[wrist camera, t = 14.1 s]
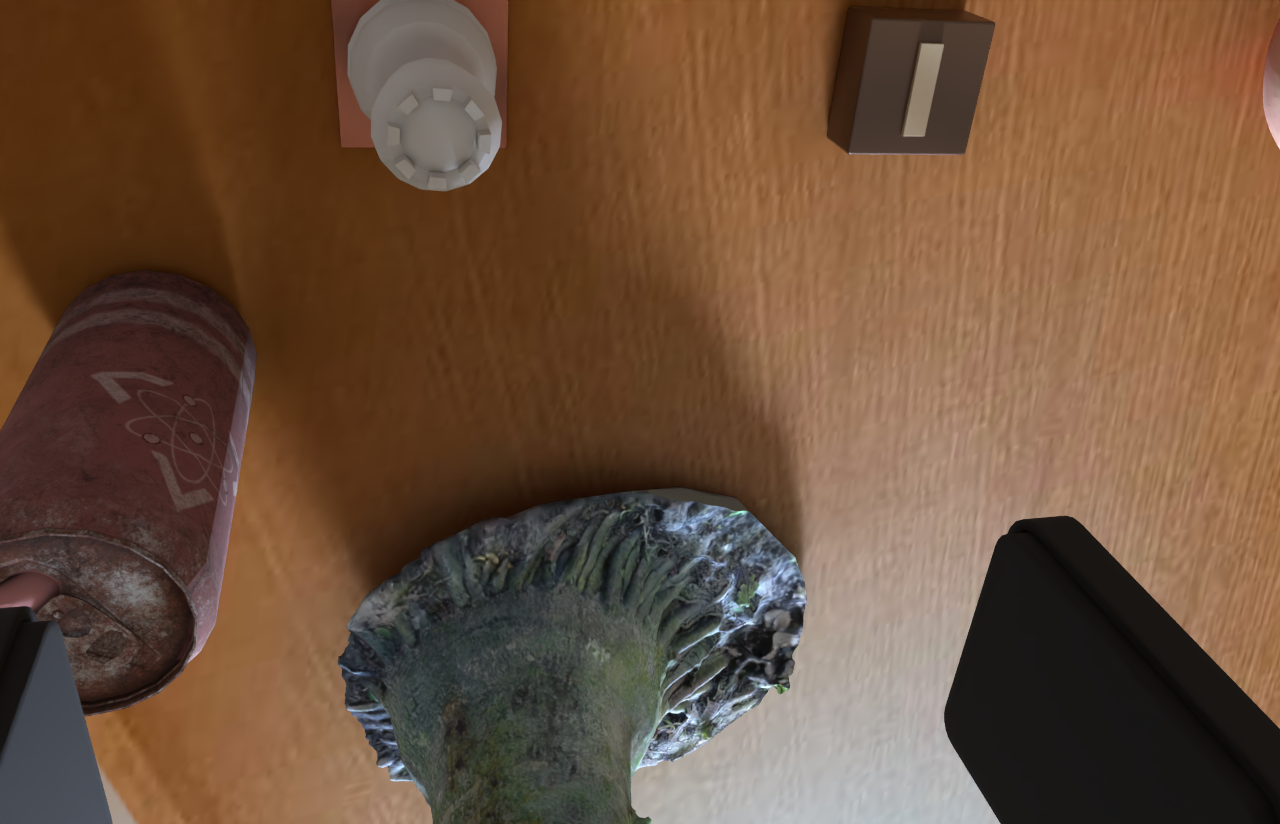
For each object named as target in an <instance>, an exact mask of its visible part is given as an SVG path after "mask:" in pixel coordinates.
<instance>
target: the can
mask: <svg viewBox="0 0 1280 824" xmlns="http://www.w3.org/2000/svg"><path fill="white" fill-rule="evenodd" d="M256 357H257V353H256V349H255V346H254V343H253V339H252V336H251V333H250V329H249V327H248V326H247V325H246V323H245V322H244V321H243V319H242V318H241V316H240V315H239V314H238V312H237V311H236V309H235V308H234V307H233V305H231V304H230V303H229V302H228V301H226V300H225V299H224V298H222V297H221V296H220V295H218V294H217V293H216V292H214V291H213V290H212V289H210V288H209V287H208V286H205V285H203V284H200V283H198V282H195V281H193V280H190V279H188V278H185V277H183V276H180V275H178V274H171V273H162V272H154V271H146V270H143V271H137V272H130V273H123V274H117V275H112V276H110V277H108V278H106V279H104V280H101V281H99V282H97V283H95V284H93V285H91V286H89V287H87V288H85V289H84V290H83V291H82V292H81V293H80V294H79V295H78V296H77V297H76V298H75V299H74V300H73V301H72V302H71V303H70V304H69V306H68V307H67V308H66V309H65V311H64V313H63V314H62V316H61V318H60V320H59V322H58V324H57V326H56V328H55V329H54V331H53V333H52V335H51V337H50V339H49V341H48V343H47V345H46V346H45V348H44V350H43V352H42V354H41V356H40V358H39V360H38V361H37V363H36V365H35V367H34V369H33V371H32V373H31V375H30V376H29V378H28V380H27V382H26V384H25V386H24V388H23V390H22V391H21V393H20V395H19V397H18V399H17V401H16V403H15V405H14V407H13V408H12V410H11V412H10V414H9V416H8V418H7V420H6V422H5V423H4V425H3V427H2V429H1V431H0V608H7V607H19V606H28V607H31V609H32V610H33V611H34V612H35V615H36V617H37V620H38V621H48V620H54V621H56V622H57V623H58V624H59V627H60V629H61V632H62V636H63V639H64V643H65V647H66V651H67V654H68V658H69V662H70V665H71V669H72V673H73V677H74V680H75V684H76V688H77V691H78V695H79V699H80V703H81V706H82V710H83V714H84V716H92V715H97V714H101V713H106V712H111V711H116V710H120V709H125V708H128V707H130V706H133V705H135V704H137V703H139V702H141V701H143V700H145V699H147V698H149V697H152V696H154V695H156V694H158V693H160V692H161V691H162V690H163V689H164V688H165V687H166V686H167V685H168V684H170V683H171V682H172V681H173V680H174V679H175V678H176V677H177V676H179V675H180V674H181V673H182V672H183V670H184V668H185V666H186V664H187V663H188V662H189V661H191V660H192V659H193V658H194V657H195V656H196V655H197V654H198V653H199V652H201V650H202V648H203V646H204V644H205V642H206V641H207V639H208V637H209V635H210V633H211V631H212V629H213V627H214V625H215V624H216V618H217V611H218V605H219V599H220V593H221V586H222V580H223V574H224V568H225V562H226V555H227V549H228V543H229V537H230V530H231V524H232V518H233V512H234V505H235V499H236V493H237V487H238V480H239V474H240V468H241V462H242V455H243V449H244V443H245V437H246V430H247V424H248V418H249V412H250V405H251V399H252V393H253V387H254V380H255V370H256Z"/></svg>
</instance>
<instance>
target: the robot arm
mask: <svg viewBox="0 0 1280 824" xmlns="http://www.w3.org/2000/svg"><path fill="white" fill-rule="evenodd" d="M944 722H945V728H946V732H947V735H948V738H949V740H950V742H951V744H952V745H953V747H954V749H955V750H956V752H957V754H958V755H959V757H960V758H961V760H962V762H963V763H964V765H965V767H966V768H967V770H968V771H969V773H970V775H971V776H972V778H973V780H974V781H975V783H976V784H977V786H978V788H979V789H980V791H981V792H982V794H983V796H984V797H985V799H986V801H987V802H988V804H989V805H990V807H991V809H992V810H993V812H994V814H995V815H996V817H997V818H998V820H999V822H1000V823H1001V824H1280V729H1279V728H1278V727H1277V726H1276V725H1275V724H1274V723H1273V722H1272V720H1271V719H1270V718H1269V717H1268V716H1267V715H1266V714H1265V713H1264V712H1263V711H1262V710H1261V709H1260V708H1259V707H1258V706H1257V705H1256V704H1255V703H1254V702H1253V701H1252V700H1251V699H1250V698H1249V697H1248V696H1247V695H1246V694H1245V693H1244V692H1243V691H1242V689H1241V688H1240V687H1239V686H1238V685H1237V684H1236V683H1235V682H1234V681H1233V680H1232V679H1231V678H1230V677H1229V676H1228V675H1227V674H1226V673H1225V672H1224V671H1223V670H1222V669H1221V668H1220V667H1219V666H1218V665H1217V664H1216V663H1215V662H1214V661H1213V660H1212V658H1211V657H1210V656H1209V655H1208V654H1207V653H1206V652H1205V651H1204V650H1203V649H1202V648H1201V647H1200V646H1199V645H1198V644H1197V643H1196V642H1195V641H1194V640H1193V639H1192V638H1191V637H1190V636H1189V635H1188V634H1187V633H1186V632H1185V631H1184V630H1183V629H1182V627H1181V626H1180V625H1179V624H1178V623H1177V622H1176V621H1175V620H1174V619H1173V618H1172V617H1171V616H1170V615H1169V614H1168V613H1167V612H1166V611H1165V610H1164V609H1163V608H1162V607H1161V606H1160V605H1159V604H1158V603H1157V602H1156V601H1155V600H1154V599H1153V598H1152V596H1151V595H1150V594H1149V593H1148V592H1147V591H1146V590H1145V589H1144V588H1143V587H1142V586H1141V585H1140V584H1139V583H1138V582H1137V581H1136V580H1135V579H1134V578H1133V577H1132V576H1131V575H1130V574H1129V573H1128V572H1127V571H1126V570H1125V569H1124V568H1123V567H1122V566H1121V564H1120V563H1119V562H1118V561H1117V560H1116V559H1115V558H1114V557H1113V556H1112V555H1111V554H1110V553H1109V552H1108V551H1107V550H1106V549H1105V548H1104V547H1103V546H1102V545H1101V544H1100V543H1099V542H1098V541H1097V540H1096V539H1095V538H1094V537H1093V536H1092V535H1091V533H1090V532H1089V531H1088V530H1087V529H1086V528H1085V527H1084V526H1083V525H1082V524H1081V523H1080V522H1078V521H1077V520H1076V519H1074V518H1073V517H1069V516H1057V517H1045V518H1033V519H1023V520H1019V521H1016V522H1015V523H1014V524H1013V525H1012V526H1011V527H1010V529H1009V531H1008V534H1006V535H1002V536H1001V537H1000V538H999V539H998V541H997V543H996V546H995V549H994V552H993V555H992V558H991V562H990V565H989V568H988V571H987V574H986V578H985V581H984V584H983V587H982V591H981V594H980V597H979V600H978V603H977V607H976V610H975V613H974V616H973V619H972V623H971V626H970V629H969V632H968V636H967V639H966V642H965V645H964V648H963V652H962V655H961V658H960V661H959V664H958V668H957V671H956V674H955V677H954V681H953V684H952V687H951V690H950V693H949V697H948V700H947V703H946V706H945V712H944ZM0 824H112V818H111V814H110V810H109V807H108V803H107V799H106V796H105V792H104V788H103V784H102V781H101V777H100V773H99V769H98V766H97V762H96V758H95V755H94V751H93V747H92V743H91V740H90V736H89V732H88V729H87V725H86V721H85V717H84V714H83V710H82V706H81V703H80V699H79V695H78V691H77V688H76V684H75V680H74V677H73V673H72V669H71V665H70V662H69V658H68V654H67V651H66V647H65V643H64V639H63V636H62V632H61V629H60V627H59V624H58V623H57V622H56V621H54V620H48V621H38V620H37V617H36V615H35V612H34V611H33V610H32V609H31V607H28V606H19V607H7V608H0Z"/></svg>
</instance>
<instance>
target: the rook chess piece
mask: <svg viewBox="0 0 1280 824" xmlns="http://www.w3.org/2000/svg"><path fill="white" fill-rule="evenodd" d="M496 74H497V66H496V59H495V56H494V52H493V49H492V46H491V43H490V39H489V36H488V33H487V31H486V30H485V29H484V27H483V26H482V25H481V24H480V23H479V21H478V20H477V19H476V18H475V16H474V15H473V14H472V13H471V11H470V10H469V9H468V8H467V7H465V6H463V5H461V4H460V3H458V2H456V1H454V0H380V1H379V2H378V3H377V4H375V5H374V6H373V7H372V8H371V9H370V10H369V11H368V12H366V13H365V14H364V15H363V16H362V17H361V18H360V19H359V22H358V24H357V26H356V28H355V31H354V33H353V35H352V37H351V39H350V42H349V44H348V77H349V80H350V84H351V86H352V89H353V91H354V94H355V96H356V99H357V101H358V104H359V106H360V109H361V110H362V112H363V113H364V114H365V115H366V116H367V117H368V118H369V119H370V120H371V138H372V140H373V143H374V145H375V148H376V151H377V153H378V156H379V158H380V160H381V161H382V162H383V163H384V165H385V166H386V167H387V168H388V169H389V170H390V171H391V172H392V173H393V174H394V175H395V176H396V177H397V178H398V179H400V180H402V181H404V182H406V183H408V184H410V185H412V186H414V187H417V188H419V189H421V190H434V191H449V190H452V189H455V188H458V187H462V186H465V185H468V184H470V183H471V182H473V181H474V180H475V179H476V178H477V177H479V176H480V175H481V174H482V173H483V172H485V171H486V170H487V169H488V168H489V167H490V165H491V163H492V161H493V159H494V157H495V155H496V153H497V151H498V149H499V147H500V140H501V128H502V120H501V117H500V114H499V111H498V108H497V104H496V101H495V98H494V96H495V86H496Z"/></svg>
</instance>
